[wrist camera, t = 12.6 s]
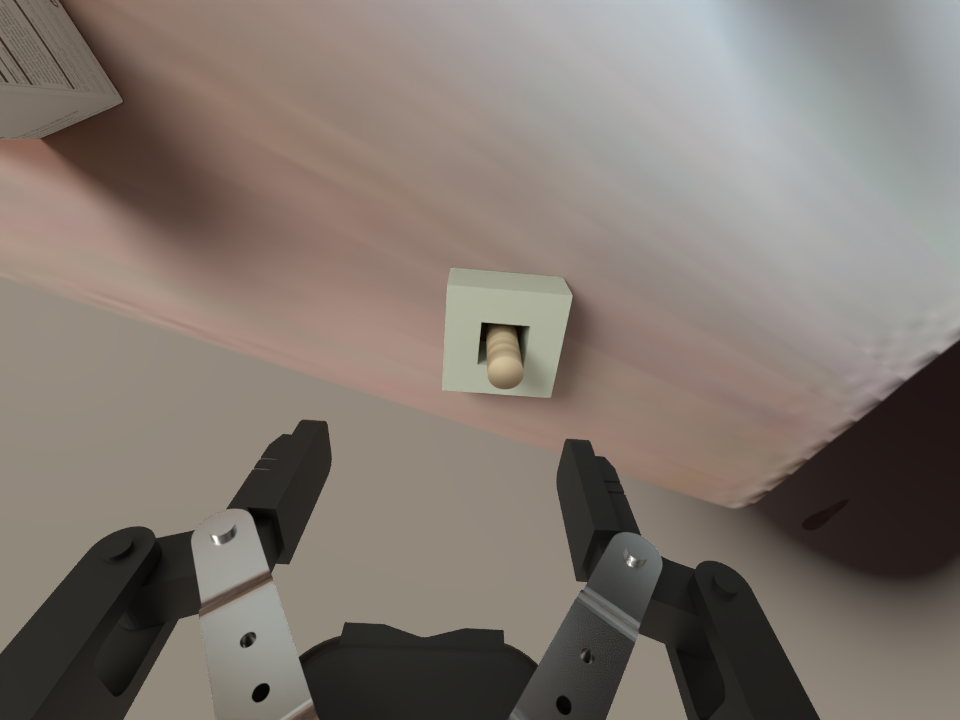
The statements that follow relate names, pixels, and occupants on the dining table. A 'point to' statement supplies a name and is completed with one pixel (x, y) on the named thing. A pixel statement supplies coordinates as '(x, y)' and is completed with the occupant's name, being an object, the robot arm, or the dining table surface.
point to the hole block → (504, 302)
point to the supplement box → (46, 71)
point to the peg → (503, 356)
